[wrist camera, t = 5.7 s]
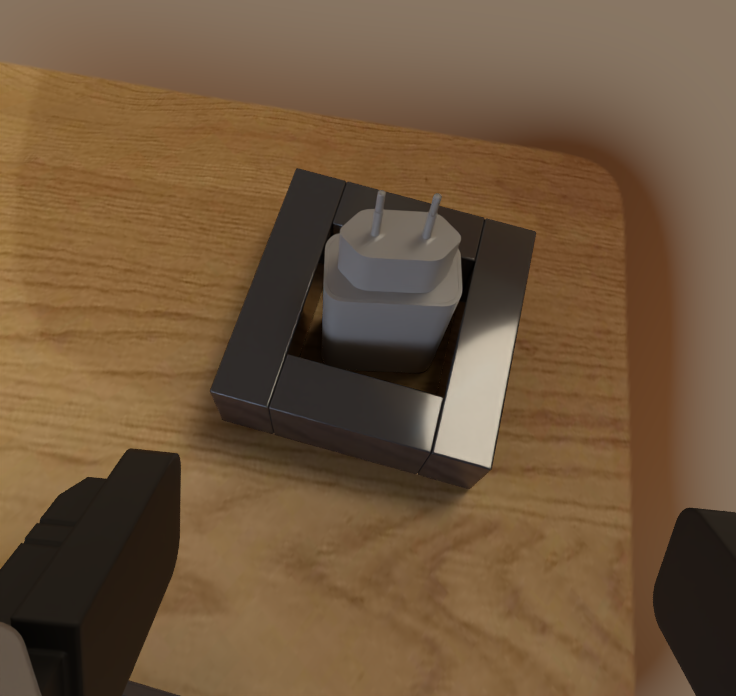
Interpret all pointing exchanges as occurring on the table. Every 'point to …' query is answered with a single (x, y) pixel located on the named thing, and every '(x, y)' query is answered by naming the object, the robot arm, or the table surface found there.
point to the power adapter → (389, 289)
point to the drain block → (363, 393)
